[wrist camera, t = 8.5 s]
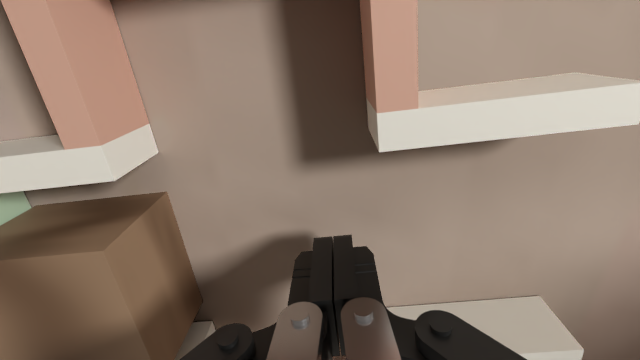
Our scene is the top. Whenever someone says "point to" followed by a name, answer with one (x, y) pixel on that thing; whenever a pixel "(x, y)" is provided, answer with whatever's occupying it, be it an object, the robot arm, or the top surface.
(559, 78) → the corral
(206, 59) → the top surface
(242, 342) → the robot arm
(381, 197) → the top surface
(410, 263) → the top surface
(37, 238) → the walnut block
